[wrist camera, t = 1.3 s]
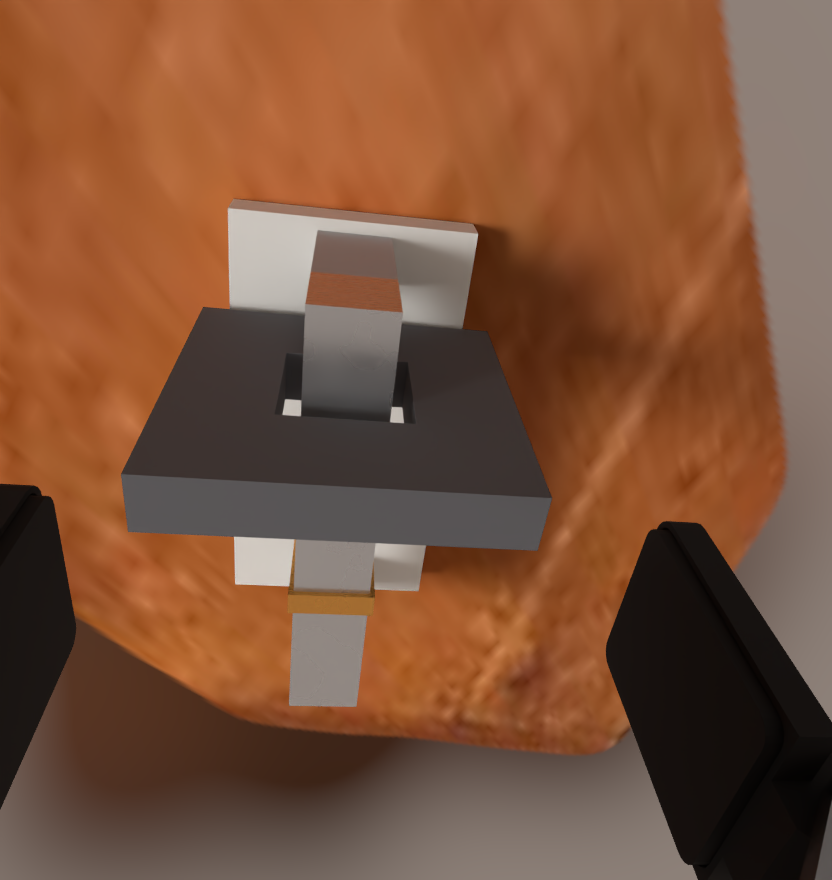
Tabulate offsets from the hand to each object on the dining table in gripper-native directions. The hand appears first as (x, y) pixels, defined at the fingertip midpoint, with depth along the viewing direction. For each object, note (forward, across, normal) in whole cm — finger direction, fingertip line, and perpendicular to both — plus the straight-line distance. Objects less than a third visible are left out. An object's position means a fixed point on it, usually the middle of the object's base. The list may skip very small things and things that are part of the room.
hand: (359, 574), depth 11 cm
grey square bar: (+15, 0, +10) cm, 18 cm away
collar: (+20, 0, +5) cm, 20 cm away
